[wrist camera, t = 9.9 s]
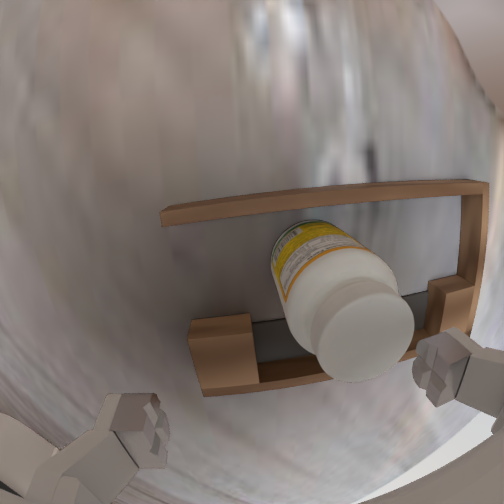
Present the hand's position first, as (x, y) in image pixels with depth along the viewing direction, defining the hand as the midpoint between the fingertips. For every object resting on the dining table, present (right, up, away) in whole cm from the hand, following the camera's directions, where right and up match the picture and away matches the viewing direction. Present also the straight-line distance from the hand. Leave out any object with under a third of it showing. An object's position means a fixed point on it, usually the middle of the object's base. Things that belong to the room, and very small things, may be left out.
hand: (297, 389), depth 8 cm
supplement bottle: (+2, +4, +11) cm, 12 cm away
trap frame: (+5, +2, +12) cm, 13 cm away
